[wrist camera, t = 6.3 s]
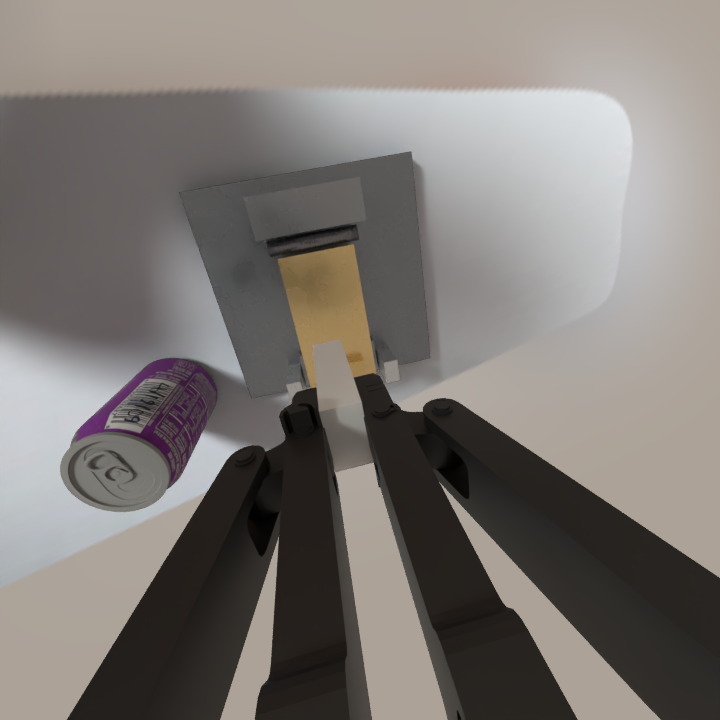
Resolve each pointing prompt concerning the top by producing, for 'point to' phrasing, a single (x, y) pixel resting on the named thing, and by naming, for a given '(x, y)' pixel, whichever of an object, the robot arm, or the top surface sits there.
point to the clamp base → (307, 215)
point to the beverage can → (140, 437)
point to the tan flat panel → (326, 295)
